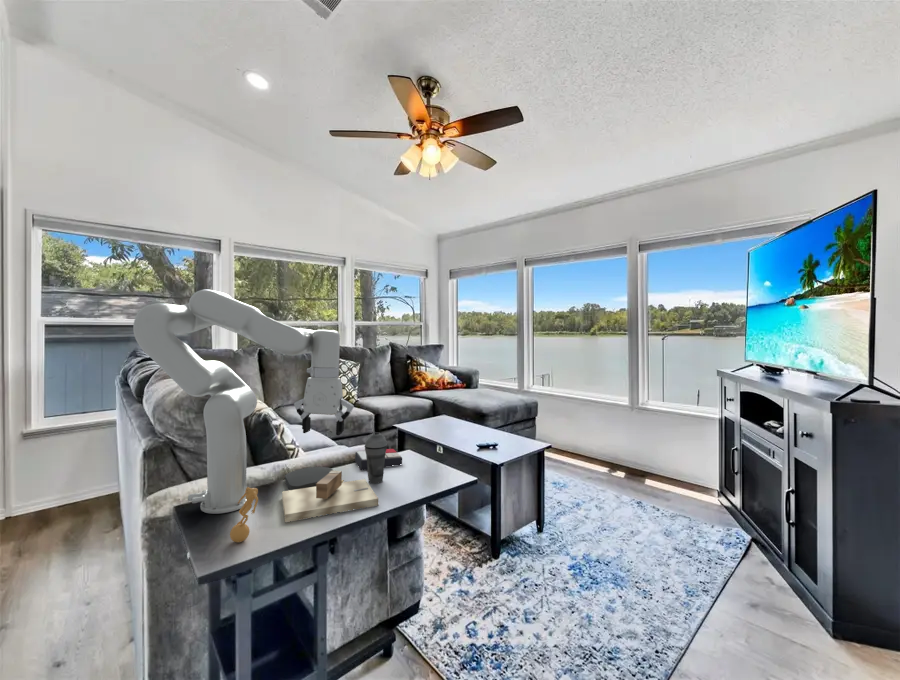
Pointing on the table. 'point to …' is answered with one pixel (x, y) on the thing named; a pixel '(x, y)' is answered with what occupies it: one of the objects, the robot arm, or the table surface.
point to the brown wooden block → (328, 484)
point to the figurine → (244, 516)
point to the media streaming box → (305, 477)
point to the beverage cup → (375, 456)
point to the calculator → (390, 459)
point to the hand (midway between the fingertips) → (322, 433)
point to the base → (327, 500)
